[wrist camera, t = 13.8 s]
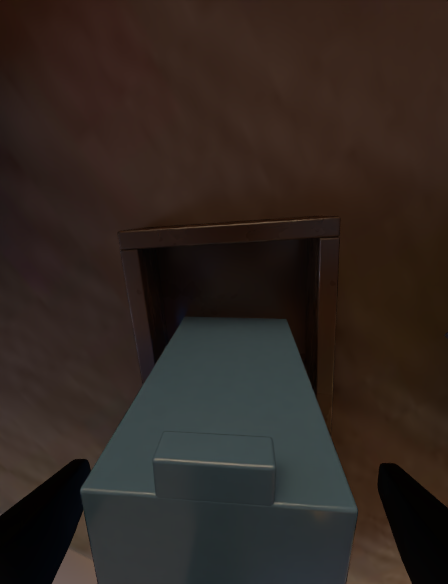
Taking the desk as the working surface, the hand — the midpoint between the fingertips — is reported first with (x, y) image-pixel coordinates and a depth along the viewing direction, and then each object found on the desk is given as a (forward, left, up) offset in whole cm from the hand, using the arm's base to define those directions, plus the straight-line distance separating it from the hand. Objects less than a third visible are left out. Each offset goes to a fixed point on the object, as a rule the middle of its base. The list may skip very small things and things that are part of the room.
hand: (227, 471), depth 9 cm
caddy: (0, 0, -8) cm, 8 cm away
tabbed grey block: (-2, 0, -7) cm, 8 cm away
